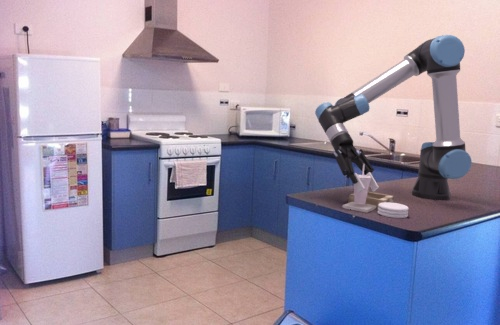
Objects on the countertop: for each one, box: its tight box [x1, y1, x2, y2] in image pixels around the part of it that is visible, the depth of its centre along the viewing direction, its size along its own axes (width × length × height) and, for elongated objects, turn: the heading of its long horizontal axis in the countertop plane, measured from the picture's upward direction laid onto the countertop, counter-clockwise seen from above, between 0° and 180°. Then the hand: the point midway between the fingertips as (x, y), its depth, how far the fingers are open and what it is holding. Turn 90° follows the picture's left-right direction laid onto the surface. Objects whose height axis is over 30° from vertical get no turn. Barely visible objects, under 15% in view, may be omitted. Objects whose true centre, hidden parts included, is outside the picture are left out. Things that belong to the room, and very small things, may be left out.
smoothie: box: [353, 164, 371, 204], centre depth 162 cm, size 6×6×14 cm
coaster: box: [377, 202, 410, 219], centre depth 157 cm, size 10×10×4 cm
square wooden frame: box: [348, 191, 395, 209], centre depth 174 cm, size 13×13×3 cm
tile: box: [342, 202, 377, 213], centre depth 163 cm, size 9×9×1 cm
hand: (369, 189), depth 160 cm, fingers closed on smoothie, 6 cm apart
